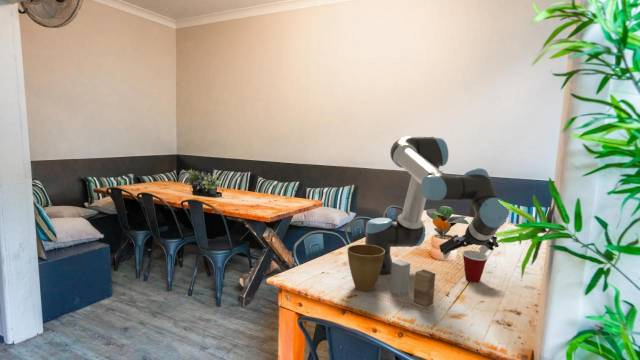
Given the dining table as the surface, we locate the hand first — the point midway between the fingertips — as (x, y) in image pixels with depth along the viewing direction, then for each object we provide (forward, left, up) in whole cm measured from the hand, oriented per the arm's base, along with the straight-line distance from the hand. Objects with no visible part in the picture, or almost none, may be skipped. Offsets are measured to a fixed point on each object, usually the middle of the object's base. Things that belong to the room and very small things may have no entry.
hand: (462, 253), depth 135 cm
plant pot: (-35, -10, -19) cm, 41 cm away
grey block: (-22, -5, -19) cm, 29 cm away
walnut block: (-11, -10, -19) cm, 24 cm away
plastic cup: (0, +27, -19) cm, 33 cm away
